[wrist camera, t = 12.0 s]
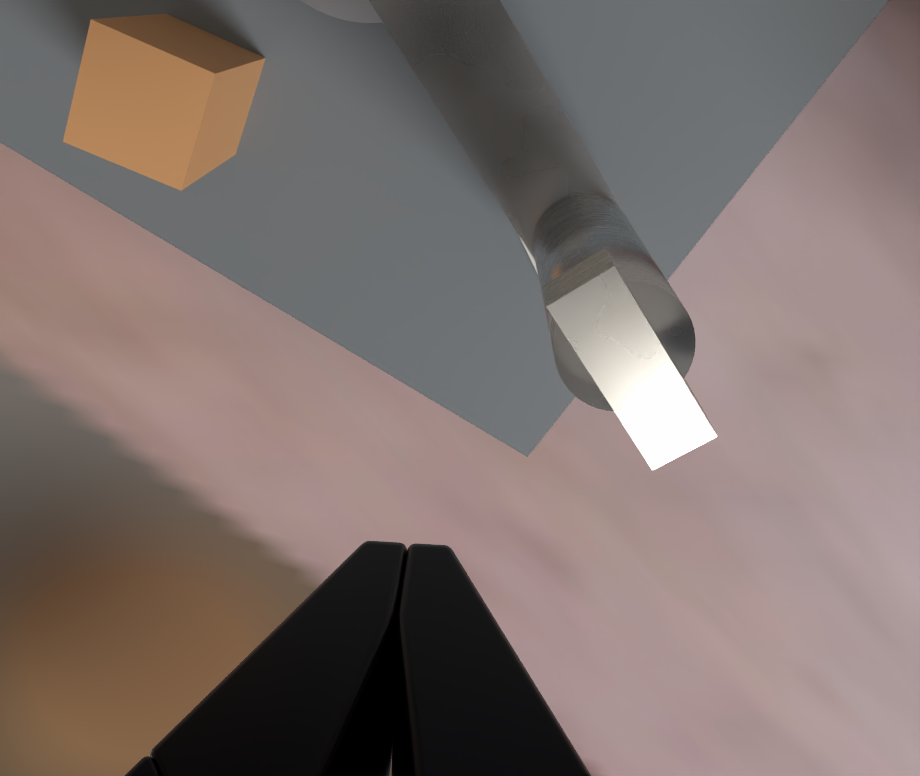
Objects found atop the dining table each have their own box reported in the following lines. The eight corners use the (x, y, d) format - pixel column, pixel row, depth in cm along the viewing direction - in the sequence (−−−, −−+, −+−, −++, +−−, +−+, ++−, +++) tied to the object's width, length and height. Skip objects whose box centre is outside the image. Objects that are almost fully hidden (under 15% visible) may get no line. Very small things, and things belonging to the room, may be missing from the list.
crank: (228, -153, 14) (24, -266, 8) (387, -285, 14) (301, -529, 7) (540, 323, 18) (573, 512, 11) (681, 239, 17) (804, 390, 10)
